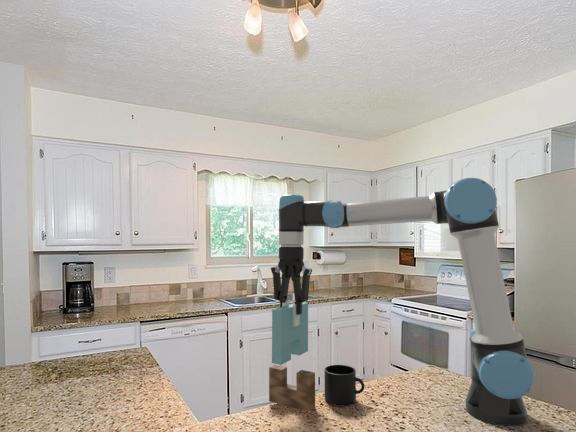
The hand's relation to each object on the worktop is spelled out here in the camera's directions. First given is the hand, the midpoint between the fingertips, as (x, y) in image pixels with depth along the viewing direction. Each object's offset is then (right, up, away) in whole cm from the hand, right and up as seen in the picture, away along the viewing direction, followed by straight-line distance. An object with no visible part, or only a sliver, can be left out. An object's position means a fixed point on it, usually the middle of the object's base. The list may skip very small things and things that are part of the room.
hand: (290, 324), depth 116 cm
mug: (+16, -24, +1) cm, 29 cm away
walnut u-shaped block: (0, -23, -2) cm, 23 cm away
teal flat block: (0, -9, -1) cm, 9 cm away
